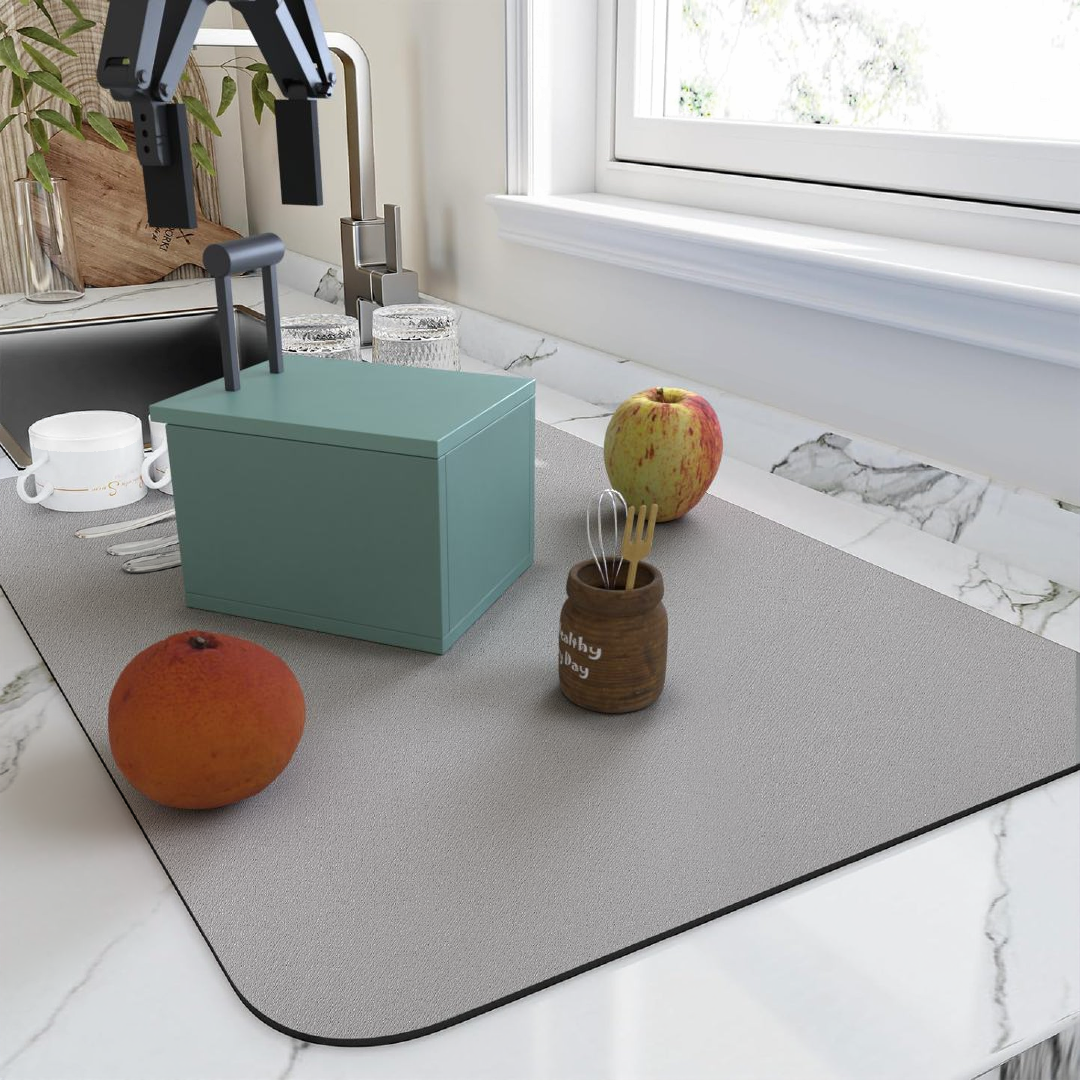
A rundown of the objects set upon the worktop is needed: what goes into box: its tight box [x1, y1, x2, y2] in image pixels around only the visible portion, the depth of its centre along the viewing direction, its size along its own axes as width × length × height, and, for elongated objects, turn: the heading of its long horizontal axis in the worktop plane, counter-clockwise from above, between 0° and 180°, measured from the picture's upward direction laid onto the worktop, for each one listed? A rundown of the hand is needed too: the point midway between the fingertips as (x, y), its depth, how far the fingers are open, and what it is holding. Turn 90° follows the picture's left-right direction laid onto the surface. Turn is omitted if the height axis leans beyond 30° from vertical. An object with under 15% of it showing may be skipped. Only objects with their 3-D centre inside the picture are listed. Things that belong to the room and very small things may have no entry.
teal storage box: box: [164, 394, 536, 655], centre depth 75 cm, size 18×15×12 cm
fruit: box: [107, 629, 306, 810], centre depth 54 cm, size 9×9×8 cm
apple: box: [603, 386, 724, 523], centre depth 88 cm, size 9×9×10 cm
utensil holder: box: [557, 489, 669, 714], centre depth 62 cm, size 6×6×12 cm
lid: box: [148, 232, 536, 458], centre depth 71 cm, size 19×15×10 cm
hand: (243, 216), depth 71 cm, fingers open, 13 cm apart
